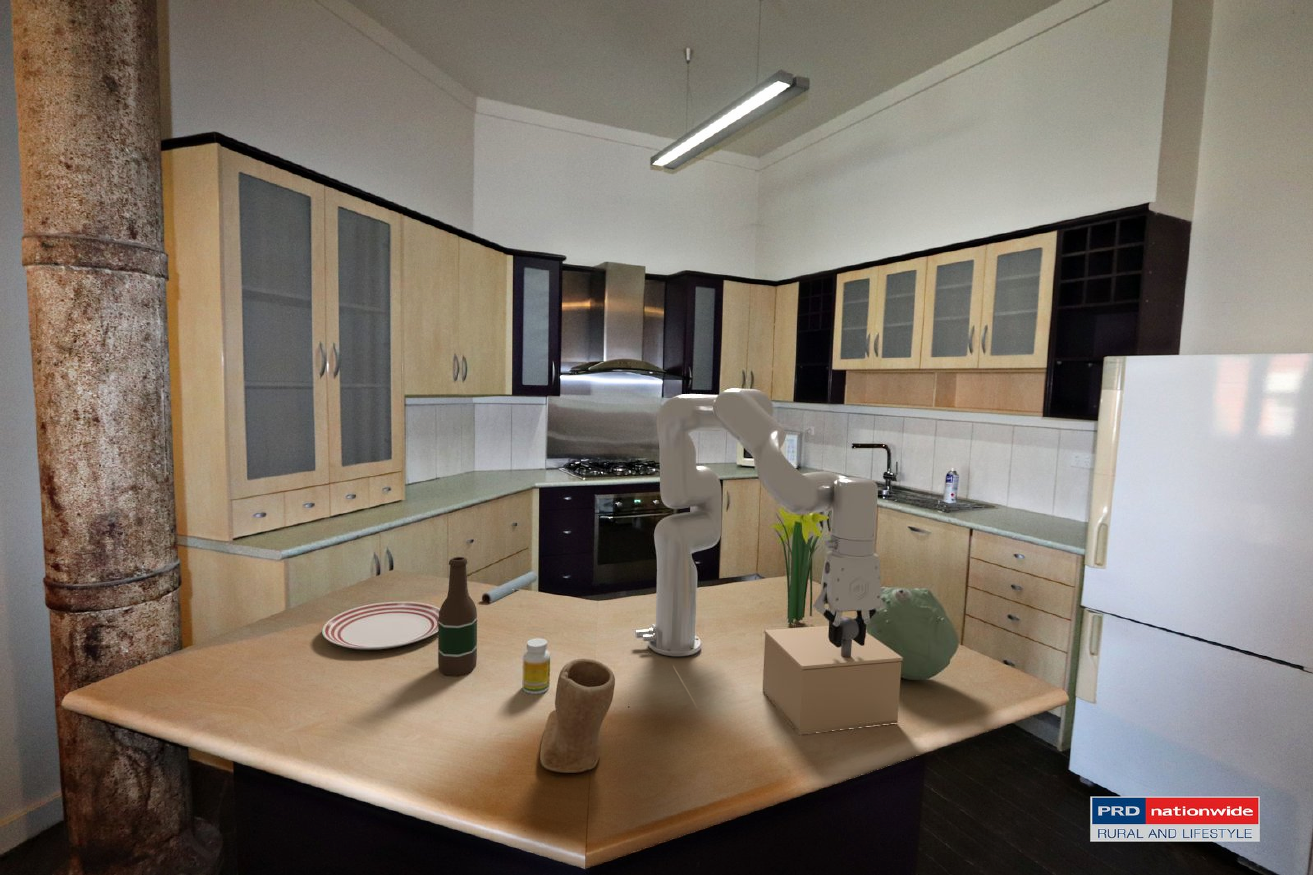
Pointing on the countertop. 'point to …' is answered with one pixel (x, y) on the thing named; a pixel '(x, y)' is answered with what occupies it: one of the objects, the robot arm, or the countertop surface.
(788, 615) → the daffodil flowers
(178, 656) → the countertop surface
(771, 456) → the robot arm
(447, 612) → the beer bottle
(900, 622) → the green lumpy rounded blob
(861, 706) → the carton
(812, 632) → the lid
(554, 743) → the brown boot
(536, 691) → the supplement bottle
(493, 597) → the aluminum foil
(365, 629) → the dinner plate
